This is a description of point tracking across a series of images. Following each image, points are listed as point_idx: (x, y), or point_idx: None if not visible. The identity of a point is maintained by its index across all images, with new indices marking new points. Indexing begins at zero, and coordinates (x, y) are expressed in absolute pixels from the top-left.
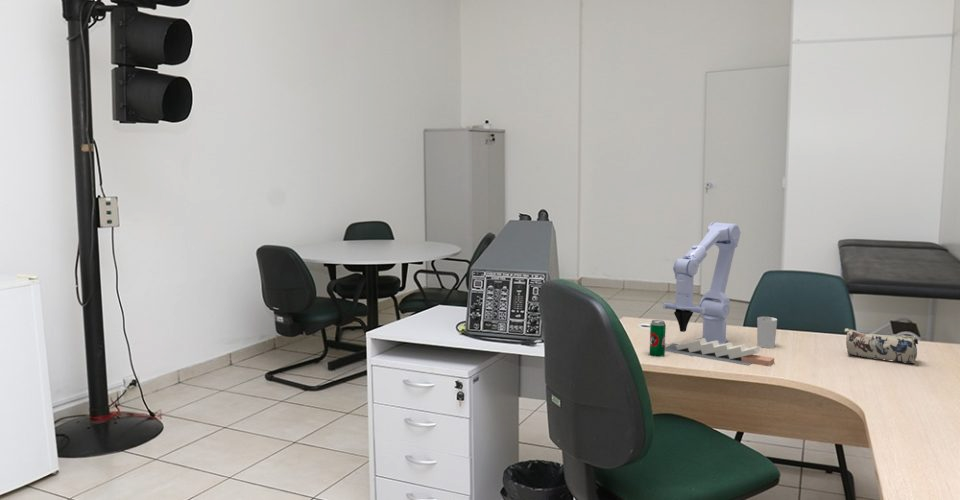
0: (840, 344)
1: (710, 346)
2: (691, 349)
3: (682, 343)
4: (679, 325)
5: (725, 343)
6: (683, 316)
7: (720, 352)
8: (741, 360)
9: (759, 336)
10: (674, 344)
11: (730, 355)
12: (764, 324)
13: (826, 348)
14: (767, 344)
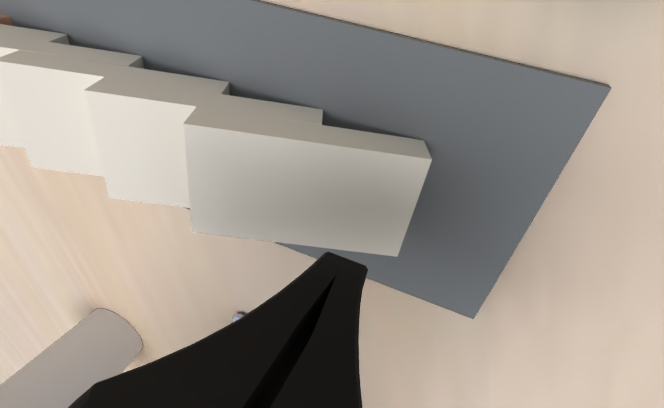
0: (21, 356)
1: (123, 84)
2: (296, 114)
3: (379, 214)
4: (350, 313)
5: (68, 163)
6: (190, 402)
7: (87, 56)
8: (4, 17)
9: (92, 354)
10: (462, 294)
11: (38, 36)
12: (15, 392)
13: (12, 321)
14: (90, 318)
